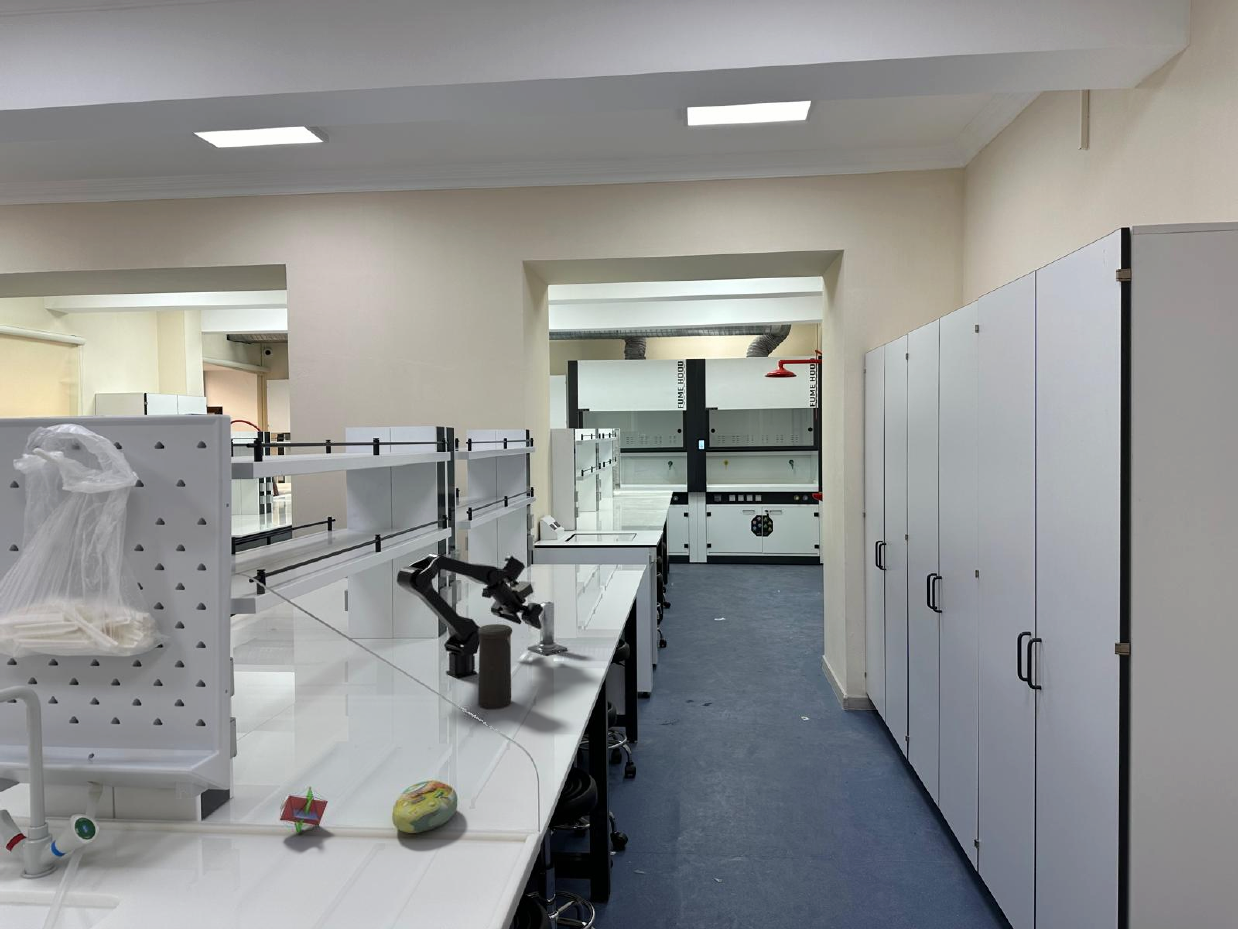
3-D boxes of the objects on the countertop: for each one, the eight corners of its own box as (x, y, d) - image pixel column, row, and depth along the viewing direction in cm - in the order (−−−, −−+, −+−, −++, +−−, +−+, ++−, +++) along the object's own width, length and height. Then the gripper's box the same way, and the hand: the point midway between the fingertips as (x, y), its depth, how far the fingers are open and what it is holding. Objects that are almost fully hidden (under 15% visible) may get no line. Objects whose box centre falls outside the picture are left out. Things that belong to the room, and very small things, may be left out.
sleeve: (551, 650, 243) (551, 605, 243) (535, 648, 245) (535, 604, 245) (558, 646, 249) (558, 602, 248) (542, 644, 251) (543, 600, 250)
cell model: (377, 827, 130) (401, 760, 144) (392, 860, 133) (415, 791, 147) (438, 818, 129) (457, 751, 143) (452, 851, 132) (470, 782, 146)
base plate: (544, 655, 241) (544, 652, 241) (527, 649, 247) (527, 646, 247) (567, 650, 247) (567, 647, 247) (549, 644, 253) (549, 641, 253)
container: (519, 701, 199) (519, 624, 198) (496, 712, 191) (496, 632, 191) (493, 695, 204) (493, 620, 203) (469, 705, 196) (469, 627, 195)
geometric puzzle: (333, 801, 140) (304, 772, 137) (339, 818, 134) (309, 787, 131) (299, 832, 137) (269, 803, 135) (303, 851, 131) (272, 820, 129)
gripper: (539, 577, 231) (564, 609, 239) (498, 570, 243) (524, 600, 252) (518, 608, 225) (545, 639, 234) (478, 598, 237) (505, 628, 246)
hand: (530, 625), depth 241 cm, fingers open, 9 cm apart
